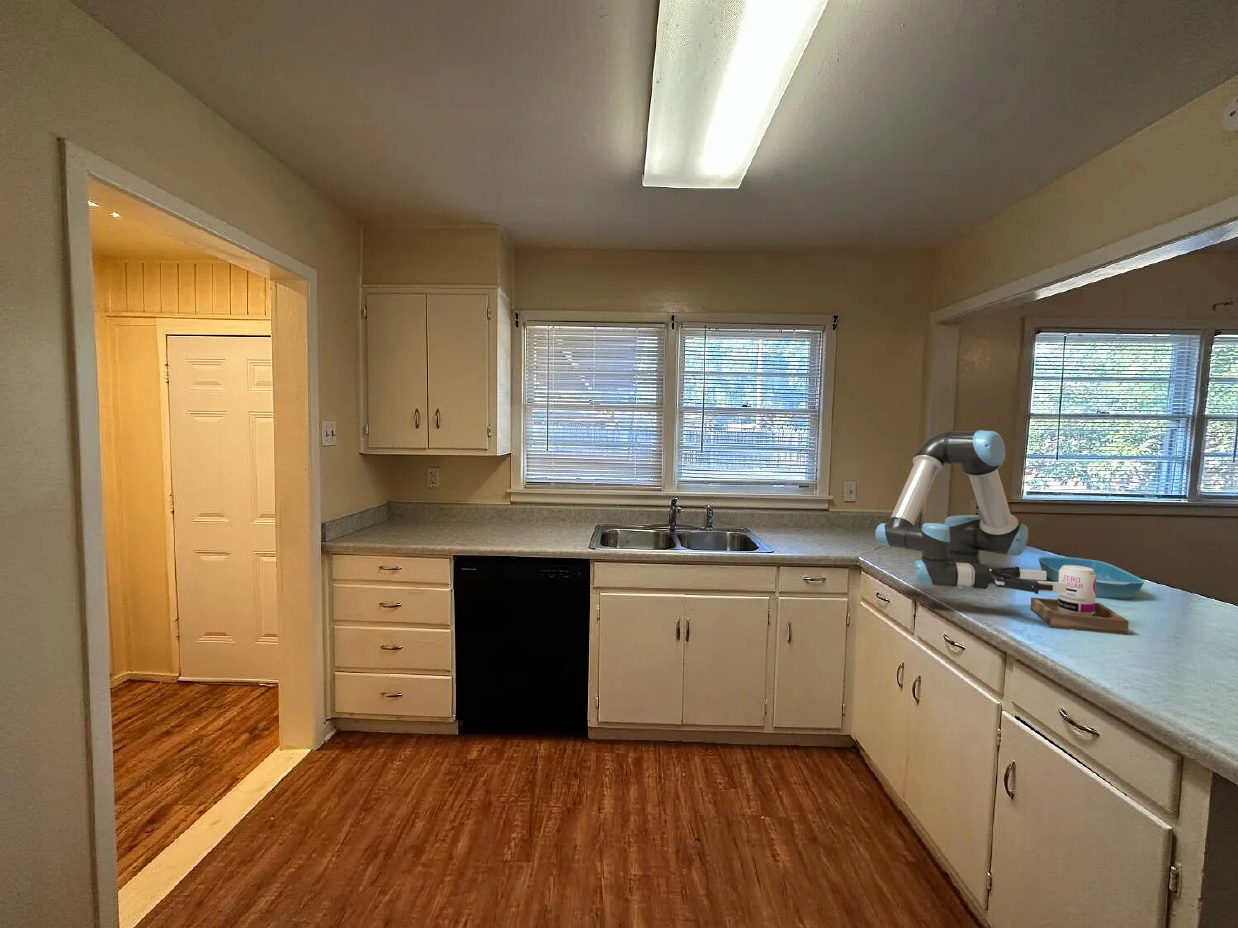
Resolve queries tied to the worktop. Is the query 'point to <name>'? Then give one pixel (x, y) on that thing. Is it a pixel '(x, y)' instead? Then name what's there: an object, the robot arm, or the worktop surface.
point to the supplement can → (1077, 590)
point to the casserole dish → (1097, 576)
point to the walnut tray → (1079, 618)
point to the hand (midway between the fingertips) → (1055, 581)
